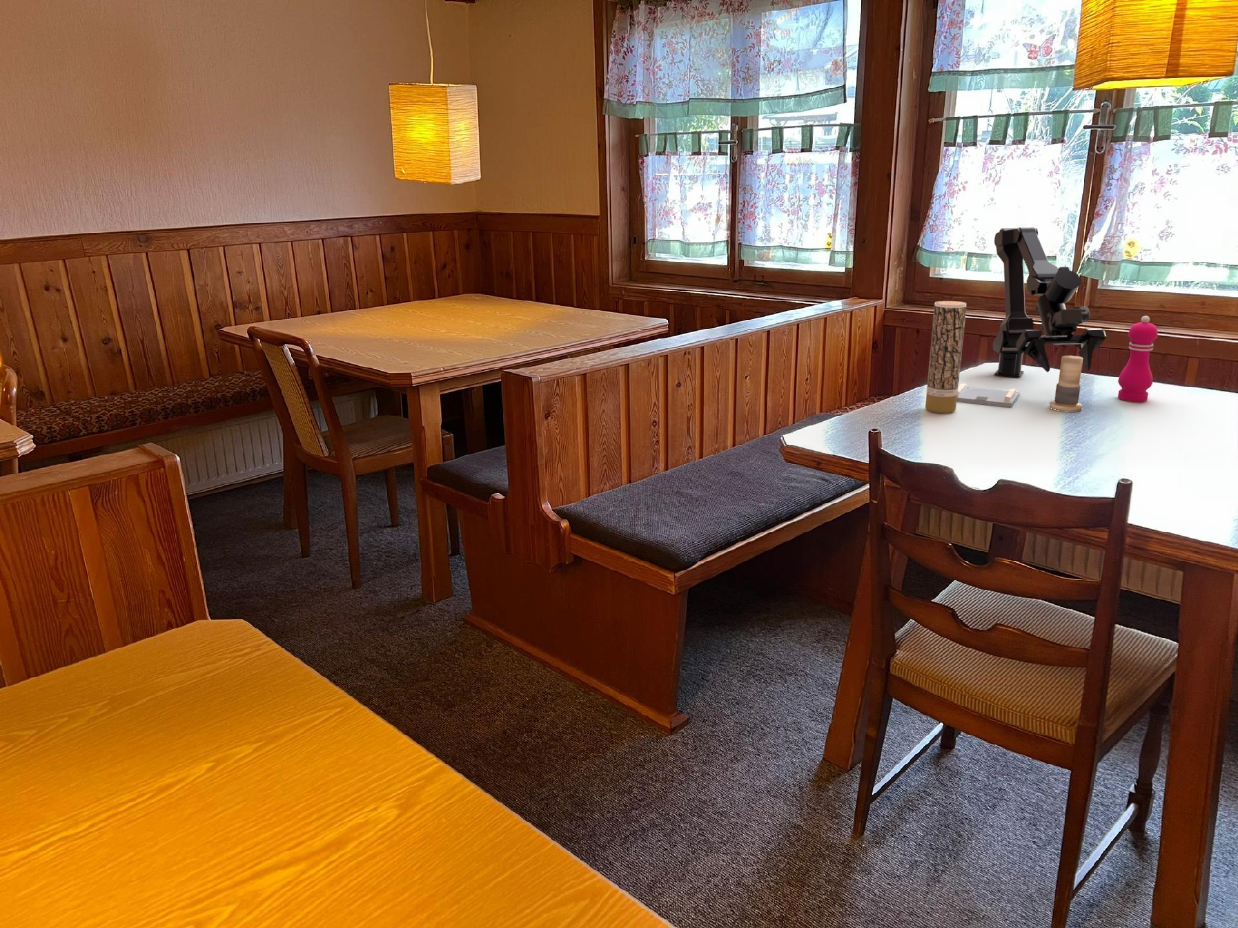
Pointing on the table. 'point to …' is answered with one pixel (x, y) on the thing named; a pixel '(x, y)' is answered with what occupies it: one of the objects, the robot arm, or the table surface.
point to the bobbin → (1068, 385)
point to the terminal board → (987, 396)
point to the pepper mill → (1138, 363)
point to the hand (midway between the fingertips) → (1068, 370)
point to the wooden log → (945, 356)
